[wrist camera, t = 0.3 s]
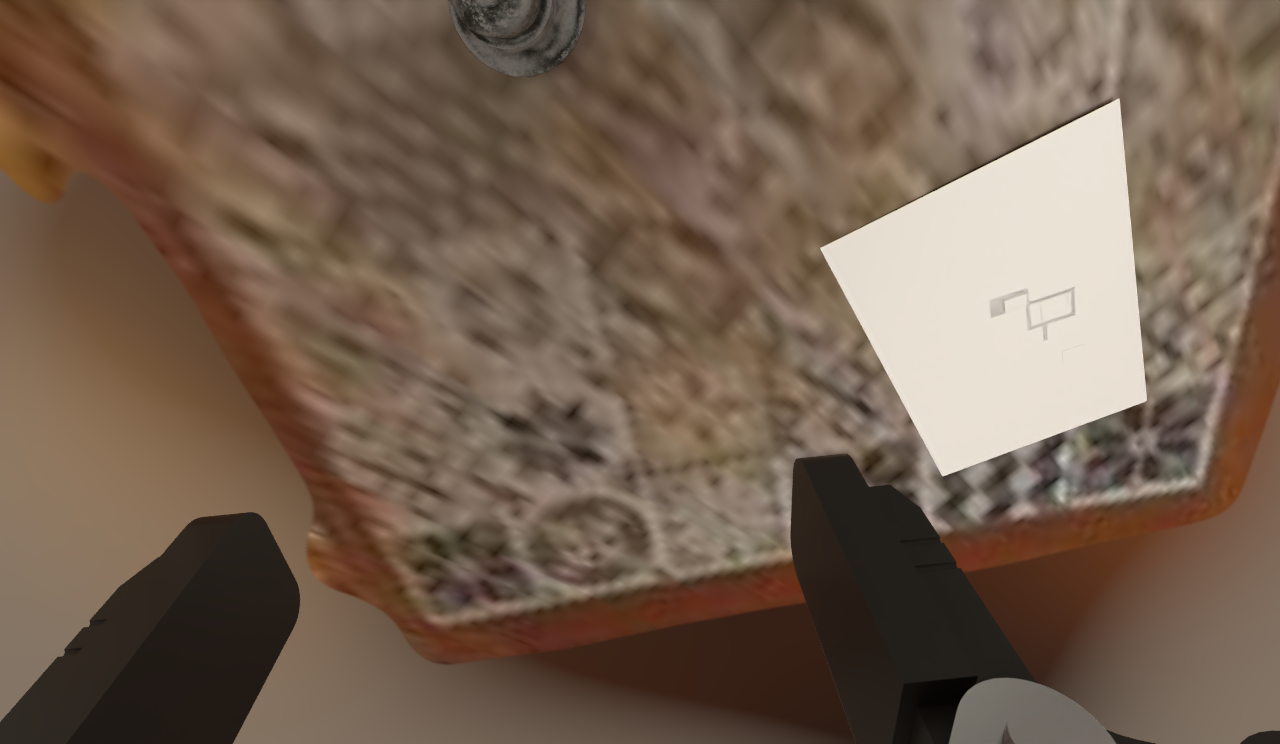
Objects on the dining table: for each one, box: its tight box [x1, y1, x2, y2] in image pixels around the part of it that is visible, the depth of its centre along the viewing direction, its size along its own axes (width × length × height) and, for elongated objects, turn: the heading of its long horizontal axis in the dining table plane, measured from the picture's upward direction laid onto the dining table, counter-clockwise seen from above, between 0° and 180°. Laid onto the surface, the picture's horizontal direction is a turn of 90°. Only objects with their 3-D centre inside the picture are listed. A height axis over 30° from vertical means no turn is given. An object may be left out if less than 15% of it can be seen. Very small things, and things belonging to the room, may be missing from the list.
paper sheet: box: [820, 99, 1147, 476], centre depth 40 cm, size 24×29×1 cm
